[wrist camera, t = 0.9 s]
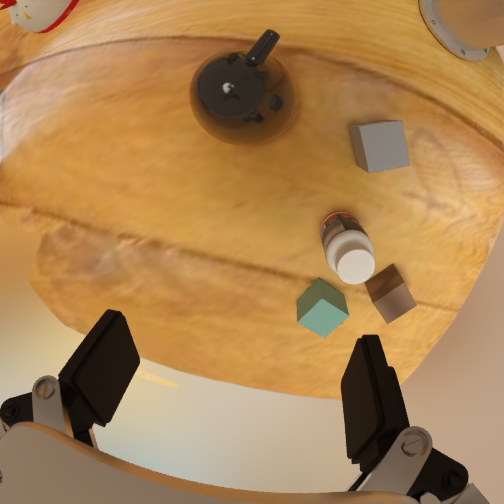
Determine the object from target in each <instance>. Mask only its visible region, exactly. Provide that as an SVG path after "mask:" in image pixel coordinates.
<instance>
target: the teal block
mask: <svg viewBox="0 0 504 504" xmlns="http://www.w3.org/2000/svg"><path fill="white" fill-rule="evenodd" d="M348 317H349V313H348V309H347V305H346V301H345V297H344V294H342V293H341V292H339V291H338V290H336V289H335V288H333V287H332V286H330V285H329V284H327V283H326V282H324V281H323V280H321V279H320V278H318V279H317V280H316V281H315V282H314V283H313V284H312V285H311V286H310V287H309V288H308V289H307V290H306V292H305V293H304V294H303V295H302V296H301V297H300V298H299V299H298V300H297V323H299V324H301V325H302V326H304V327H306V328H308V329H309V330H311V331H313V332H315V333H316V334H318V335H320V336H322V337H324V338H325V337H326V336H327V335H329V334H330V333H331V332H332V331H333V330H334V329H335V328H337V327H338V326H339V325H340V324H341V323H342V322H343V321H344V320H345V319H347V318H348Z"/></svg>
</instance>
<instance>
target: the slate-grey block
mask: <svg viewBox="0 0 504 504" xmlns="http://www.w3.org/2000/svg"><path fill="white" fill-rule="evenodd" d="M349 130H350V134H351V138H352V143H353V147H354V151H355V156H356V161H357V165H358V166H359V167H360V168H362V169H363V170H365V171H366V172H368V173H372V172H378V171H383V170H389V169H394V168H400V167H406V166H410V163H409V156H408V150H407V144H406V139H405V134H404V129H403V124H402V120H383V121H376V122H369V123H363V124H357V125H351V126H349Z"/></svg>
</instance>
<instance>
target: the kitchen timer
mask: <svg viewBox="0 0 504 504" xmlns="http://www.w3.org/2000/svg"><path fill="white" fill-rule="evenodd" d="M78 1H79V0H0V3H1V4H5V5H3V6H2V7H1V8H0V10H2V9H5V8H8V10H9V13H10V16H11V18H12V19H11V23H12V24H13V25H20V26H21V27H23V28H25V29H26V30H28V31H31V32H34V33H46V32H48V31H51V30H52V29H54V28H55V27H57V26H58V25H59V24H60V23H61V22H62V21H63V20H64V19H65V18H66V17H67V16H68V15H69V14H70V12H71V11H72V10H73V9H74V7H75V6H76V4H77V3H78Z"/></svg>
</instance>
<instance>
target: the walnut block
mask: <svg viewBox="0 0 504 504" xmlns="http://www.w3.org/2000/svg"><path fill="white" fill-rule="evenodd" d="M365 284H366V287H367V289H368V292H369V294H370V297H371V299H372V302H373V304H374V305H375V307H376V308H377V310H378V311H379V313H380V314H381V315H382V317H383V318H384V320H385V321H386V323H387V324H389V323H390V322H392V321H394V320H395V319H397V318H398V317H400V316H401V315H403V314H404V313H406V312H408V311H409V310H411V309H412V308H414V307H415V306H417V305H416V303H415V301H414V299H413V297H412V295H411V294H410V292H409V290H408V288H407V286H406V284H405V283H404V281H403V279H402V278H401V276H400V274H399V273H398V271H397V270H396V268H395V266H394V265H393V264H391V265H390V266H389V267H387V268H386V269H384V270H383V271H381V272H380V273H378V274H377V275H376V276H374V277H373V278H371V279H370V280H368V281H367V282H365Z"/></svg>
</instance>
